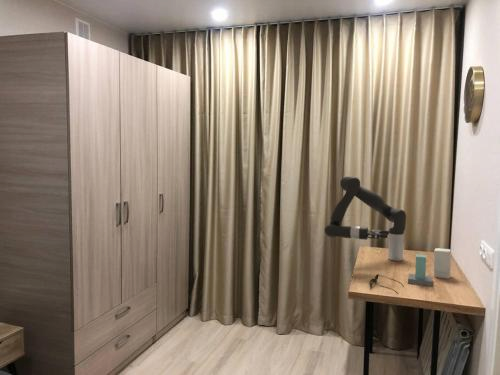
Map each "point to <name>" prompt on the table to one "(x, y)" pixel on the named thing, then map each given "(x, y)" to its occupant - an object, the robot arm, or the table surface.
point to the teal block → (420, 266)
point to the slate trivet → (420, 280)
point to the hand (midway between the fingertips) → (388, 234)
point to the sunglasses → (376, 282)
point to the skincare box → (442, 263)
